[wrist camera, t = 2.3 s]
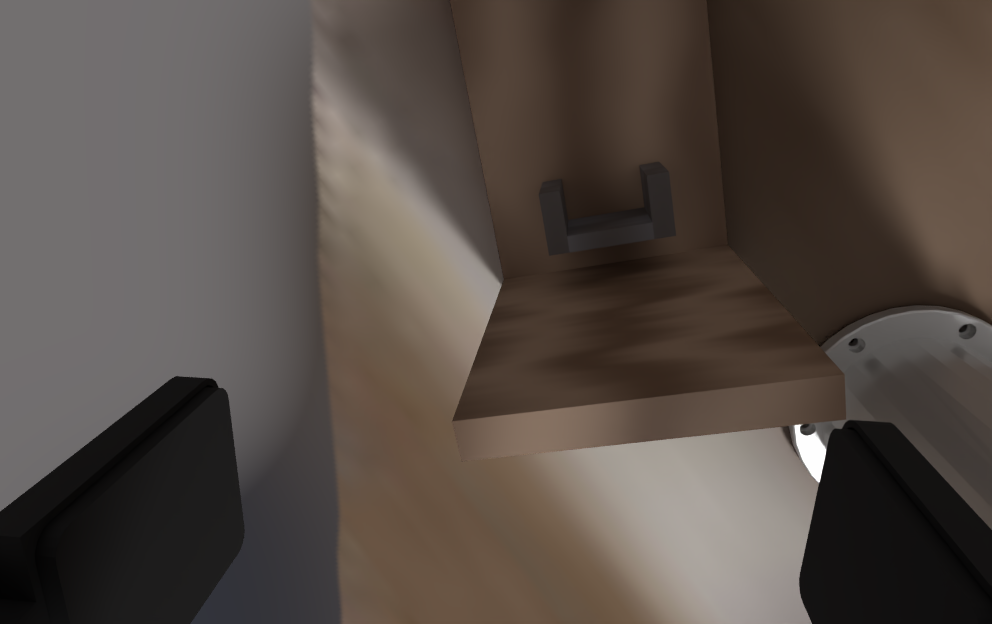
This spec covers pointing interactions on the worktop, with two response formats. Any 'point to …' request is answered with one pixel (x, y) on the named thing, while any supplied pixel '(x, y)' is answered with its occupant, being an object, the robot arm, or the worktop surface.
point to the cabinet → (616, 240)
